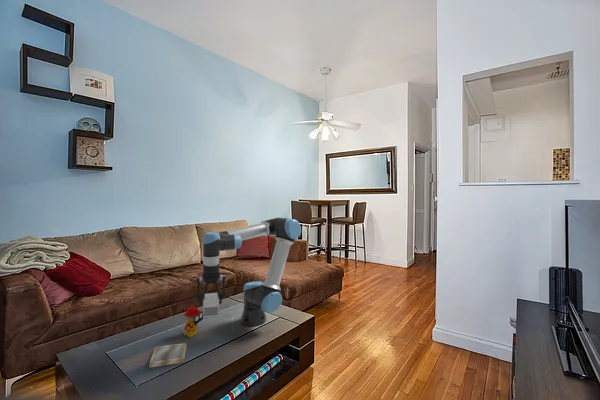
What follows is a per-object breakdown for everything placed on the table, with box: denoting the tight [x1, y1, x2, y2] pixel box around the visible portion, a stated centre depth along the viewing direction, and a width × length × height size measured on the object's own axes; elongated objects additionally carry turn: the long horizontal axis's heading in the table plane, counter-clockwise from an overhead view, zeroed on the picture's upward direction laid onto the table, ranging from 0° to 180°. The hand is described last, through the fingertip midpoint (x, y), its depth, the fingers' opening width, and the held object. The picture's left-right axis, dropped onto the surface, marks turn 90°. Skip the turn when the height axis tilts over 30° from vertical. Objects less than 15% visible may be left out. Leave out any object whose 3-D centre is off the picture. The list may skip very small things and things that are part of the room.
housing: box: [204, 292, 219, 317], centre depth 141 cm, size 8×6×8 cm
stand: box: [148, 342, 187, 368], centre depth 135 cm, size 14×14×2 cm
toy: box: [183, 306, 204, 338], centre depth 156 cm, size 11×9×15 cm
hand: (211, 311), depth 141 cm, fingers closed on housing, 6 cm apart
